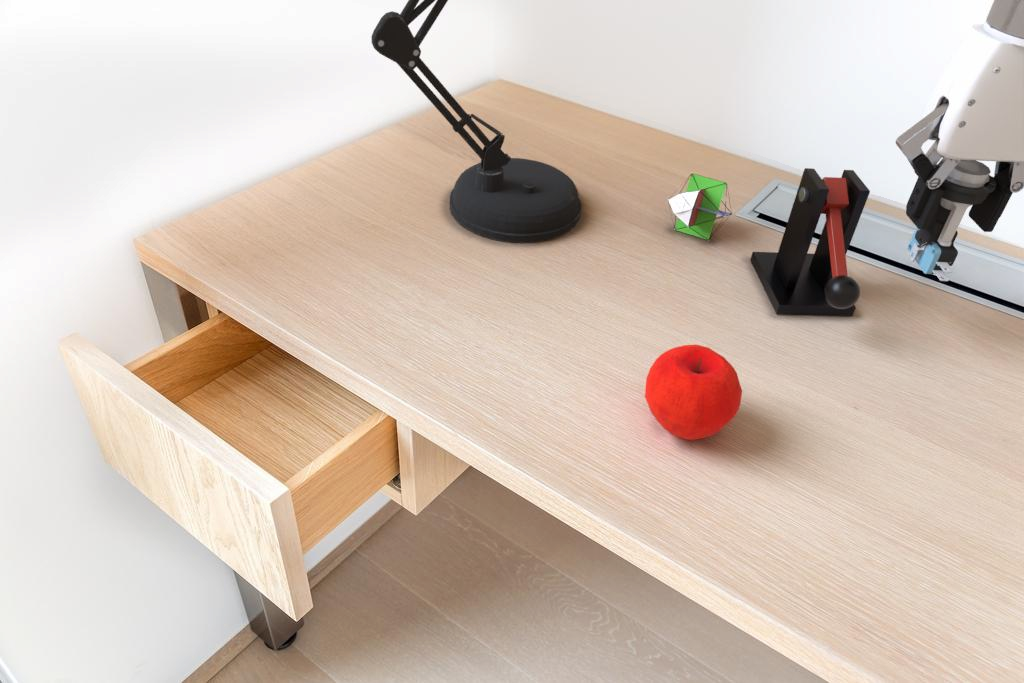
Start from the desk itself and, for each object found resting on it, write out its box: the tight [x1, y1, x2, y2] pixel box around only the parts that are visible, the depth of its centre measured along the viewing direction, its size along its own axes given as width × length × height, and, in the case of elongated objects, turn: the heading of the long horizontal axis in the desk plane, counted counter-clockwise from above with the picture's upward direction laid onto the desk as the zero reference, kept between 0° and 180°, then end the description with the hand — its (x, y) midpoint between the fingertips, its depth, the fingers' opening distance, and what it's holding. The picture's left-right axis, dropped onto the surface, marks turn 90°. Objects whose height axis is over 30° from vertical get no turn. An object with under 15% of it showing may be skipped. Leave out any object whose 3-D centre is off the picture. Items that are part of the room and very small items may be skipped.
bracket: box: [749, 167, 871, 317], centre depth 81 cm, size 10×8×13 cm
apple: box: [644, 344, 743, 441], centre depth 65 cm, size 8×8×7 cm
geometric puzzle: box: [667, 172, 733, 242], centre depth 91 cm, size 7×7×8 cm
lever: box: [821, 176, 861, 309], centre depth 77 cm, size 13×3×3 cm
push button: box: [907, 160, 997, 282], centre depth 72 cm, size 7×5×10 cm
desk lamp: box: [371, 0, 582, 244], centre depth 81 cm, size 24×26×45 cm
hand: (948, 221), depth 72 cm, fingers closed on push button, 5 cm apart
